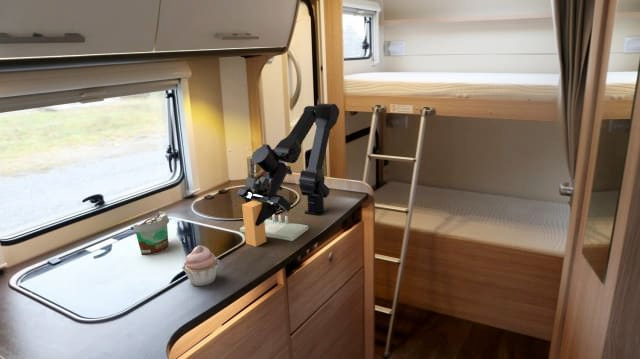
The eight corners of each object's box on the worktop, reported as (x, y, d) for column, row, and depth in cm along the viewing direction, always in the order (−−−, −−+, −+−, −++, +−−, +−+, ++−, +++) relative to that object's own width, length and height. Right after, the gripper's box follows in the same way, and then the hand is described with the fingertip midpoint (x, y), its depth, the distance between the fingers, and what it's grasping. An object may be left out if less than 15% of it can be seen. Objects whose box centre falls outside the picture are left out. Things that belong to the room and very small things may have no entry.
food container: (155, 259, 132) (150, 227, 129) (138, 257, 134) (132, 225, 131) (181, 241, 143) (176, 212, 140) (164, 240, 145) (159, 210, 142)
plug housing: (256, 238, 142) (252, 200, 139) (266, 241, 140) (262, 202, 136) (246, 243, 139) (241, 204, 135) (256, 246, 136) (252, 207, 133)
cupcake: (199, 293, 111) (193, 256, 109) (177, 283, 117) (171, 247, 114) (229, 278, 118) (224, 243, 115) (207, 268, 124) (202, 235, 121)
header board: (257, 220, 156) (256, 210, 155) (308, 229, 147) (307, 218, 146) (240, 231, 148) (238, 221, 147) (292, 240, 139) (291, 229, 138)
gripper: (237, 162, 141) (213, 206, 136) (281, 170, 130) (256, 218, 125) (258, 180, 149) (236, 222, 144) (301, 188, 138) (278, 234, 133)
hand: (250, 223), depth 136 cm, fingers closed on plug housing, 4 cm apart
